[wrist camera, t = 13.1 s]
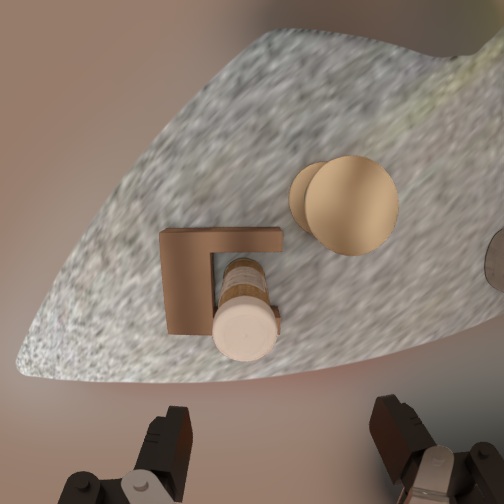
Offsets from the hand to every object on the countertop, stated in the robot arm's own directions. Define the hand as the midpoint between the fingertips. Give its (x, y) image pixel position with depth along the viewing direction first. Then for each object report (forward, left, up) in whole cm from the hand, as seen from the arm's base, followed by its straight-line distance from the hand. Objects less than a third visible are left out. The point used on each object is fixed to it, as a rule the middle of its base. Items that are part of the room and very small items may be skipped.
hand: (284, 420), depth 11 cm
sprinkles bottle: (+2, +1, -23) cm, 23 cm away
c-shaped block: (+4, +1, -23) cm, 23 cm away
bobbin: (-7, -8, -23) cm, 25 cm away
